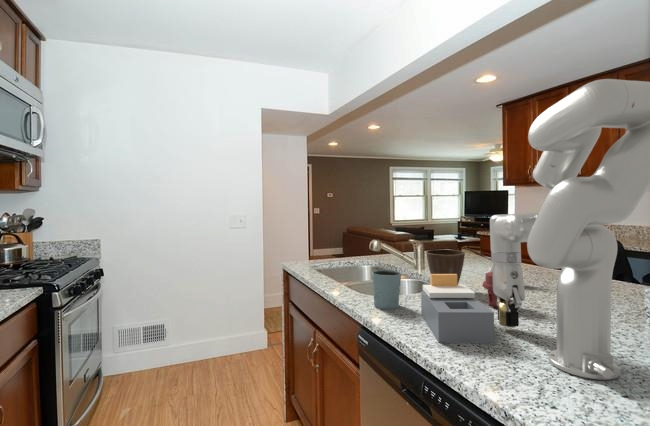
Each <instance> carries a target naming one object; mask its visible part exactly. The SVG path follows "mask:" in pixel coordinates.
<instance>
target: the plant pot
mask: <svg viewBox="0 0 650 426" xmlns="http://www.w3.org/2000/svg"><path fill="white" fill-rule="evenodd" d="M425 253H426V260H427V265H428V270H429V274H457V285H459V282H460V279H461V276H462V272H463V268H464V263H465V262H464V261H465V256H466V255H465V254H466V252H465V251H464V250H463V251H462V250H458V249H443V248H442V249H430V250H427V251H426V252H425Z"/></svg>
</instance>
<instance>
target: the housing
mask: <svg viewBox="0 0 650 426" xmlns="http://www.w3.org/2000/svg"><path fill="white" fill-rule="evenodd" d="M420 298H421V299H420V304H421V306H420V308H421V310H420V314H421V317H422V319H423V320H424V322H425V323H426V325H427V326H428V328H429V330H430V331H431V333H432V335H433V336H434V337H435V339H436V340H437V342H438V343H440V344H441V343H442V344H447V343H448V344H450V343H452V344H454V343H455V344H495V312H494V311H492V309H490V308H489V307H487V306H486V305H485V304H484V303H483V302H481V301H480V300H478V299H477V298H476V297H475V298H429V296H428V295H427V294H426V293H425V292H424V290H420Z"/></svg>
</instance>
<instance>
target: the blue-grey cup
mask: <svg viewBox="0 0 650 426" xmlns="http://www.w3.org/2000/svg"><path fill="white" fill-rule="evenodd" d="M371 276H372V277H371V278H372V286H373V287H372V290H373V291H372V292H373V305H374V307H375V308H376V309H379V310H386V311H387V310H395V309H398V308H399V306H400V304H399V303H400V291H401V290H400V287H401V281H402V272H400V271H398V270H392V269H377V270H373V271H371Z"/></svg>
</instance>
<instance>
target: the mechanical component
mask: <svg viewBox="0 0 650 426" xmlns="http://www.w3.org/2000/svg"><path fill="white" fill-rule="evenodd" d="M482 288H484V290H487V302H488V306H489V307H492V308H496V309H498V308H497V298H496V294H494V292H493V272H490V271H489V272H486V273H485V280H484V281H483V282H482Z"/></svg>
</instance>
